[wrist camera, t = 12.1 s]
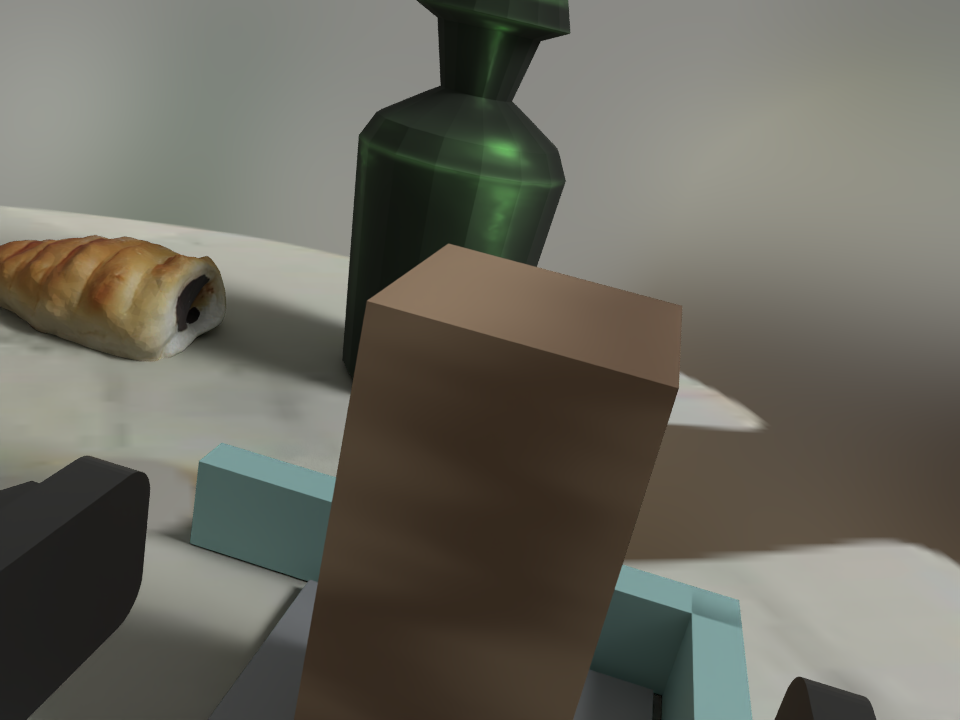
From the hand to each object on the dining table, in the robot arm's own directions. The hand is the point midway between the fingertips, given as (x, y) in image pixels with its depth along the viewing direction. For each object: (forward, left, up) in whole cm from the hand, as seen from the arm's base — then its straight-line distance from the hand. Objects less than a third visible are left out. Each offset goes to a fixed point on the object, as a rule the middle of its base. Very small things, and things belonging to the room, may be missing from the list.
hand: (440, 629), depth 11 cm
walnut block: (0, +5, -7) cm, 9 cm away
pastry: (-19, +22, -8) cm, 30 cm away
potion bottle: (-6, +25, -8) cm, 27 cm away
